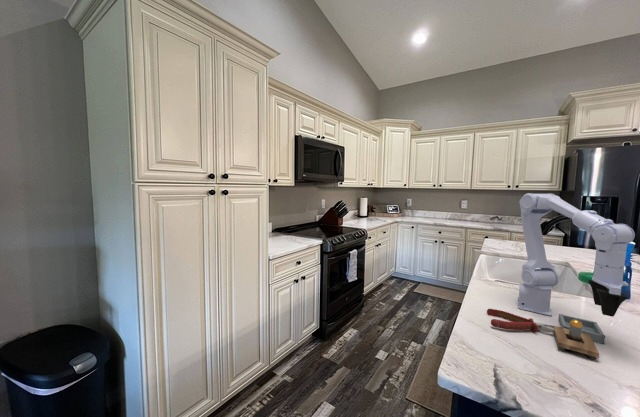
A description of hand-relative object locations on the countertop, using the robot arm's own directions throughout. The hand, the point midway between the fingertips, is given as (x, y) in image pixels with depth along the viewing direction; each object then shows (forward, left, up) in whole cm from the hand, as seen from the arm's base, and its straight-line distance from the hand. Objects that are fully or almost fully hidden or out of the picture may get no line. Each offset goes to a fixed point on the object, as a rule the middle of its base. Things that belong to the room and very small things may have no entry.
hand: (603, 310), depth 76 cm
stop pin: (-7, -7, -10) cm, 14 cm away
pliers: (-19, -5, -10) cm, 22 cm away
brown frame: (-7, -7, -10) cm, 14 cm away
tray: (-4, +5, -10) cm, 12 cm away
